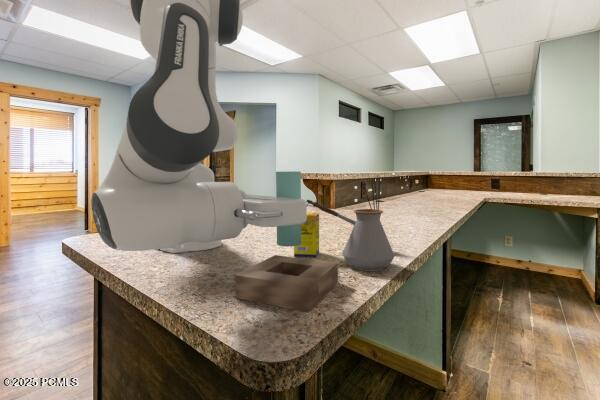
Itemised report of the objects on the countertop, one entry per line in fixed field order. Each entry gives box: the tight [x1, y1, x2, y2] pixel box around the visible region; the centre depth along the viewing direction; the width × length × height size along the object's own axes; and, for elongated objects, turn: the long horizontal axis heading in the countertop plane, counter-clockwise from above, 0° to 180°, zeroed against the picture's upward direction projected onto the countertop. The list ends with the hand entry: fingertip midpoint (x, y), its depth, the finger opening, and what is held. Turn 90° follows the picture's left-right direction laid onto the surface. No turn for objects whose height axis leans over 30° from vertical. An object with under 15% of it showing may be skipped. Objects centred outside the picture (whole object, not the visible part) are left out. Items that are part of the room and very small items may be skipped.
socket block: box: [234, 254, 339, 313], centre depth 56 cm, size 14×14×4 cm
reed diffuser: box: [361, 177, 381, 210], centre depth 85 cm, size 10×7×20 cm
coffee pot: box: [305, 199, 395, 272], centre depth 72 cm, size 21×12×15 cm, turn 66°
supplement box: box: [293, 211, 320, 259], centre depth 81 cm, size 6×6×11 cm
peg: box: [275, 170, 302, 248], centre depth 55 cm, size 4×4×13 cm
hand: (292, 204), depth 56 cm, fingers closed on peg, 4 cm apart
